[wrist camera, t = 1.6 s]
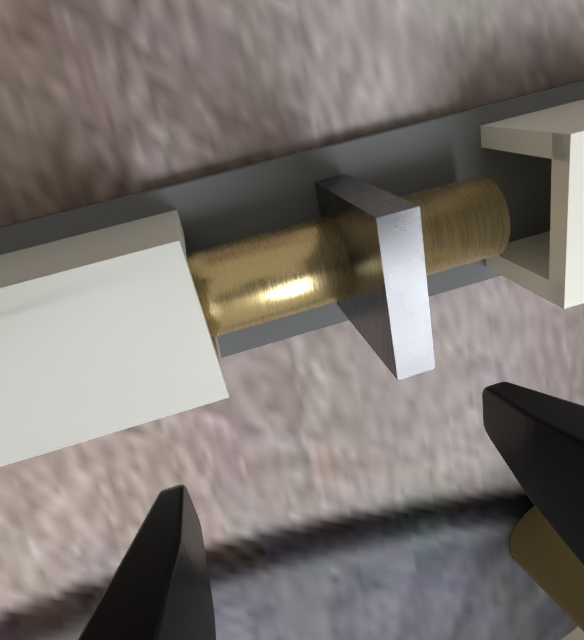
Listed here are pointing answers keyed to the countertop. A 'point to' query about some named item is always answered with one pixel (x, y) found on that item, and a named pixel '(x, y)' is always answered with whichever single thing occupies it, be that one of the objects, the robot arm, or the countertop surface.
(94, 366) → the sleeve
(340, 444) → the countertop surface
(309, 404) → the countertop surface
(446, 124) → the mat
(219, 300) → the bolt
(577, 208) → the socket
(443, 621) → the countertop surface
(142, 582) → the robot arm
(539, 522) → the cork
